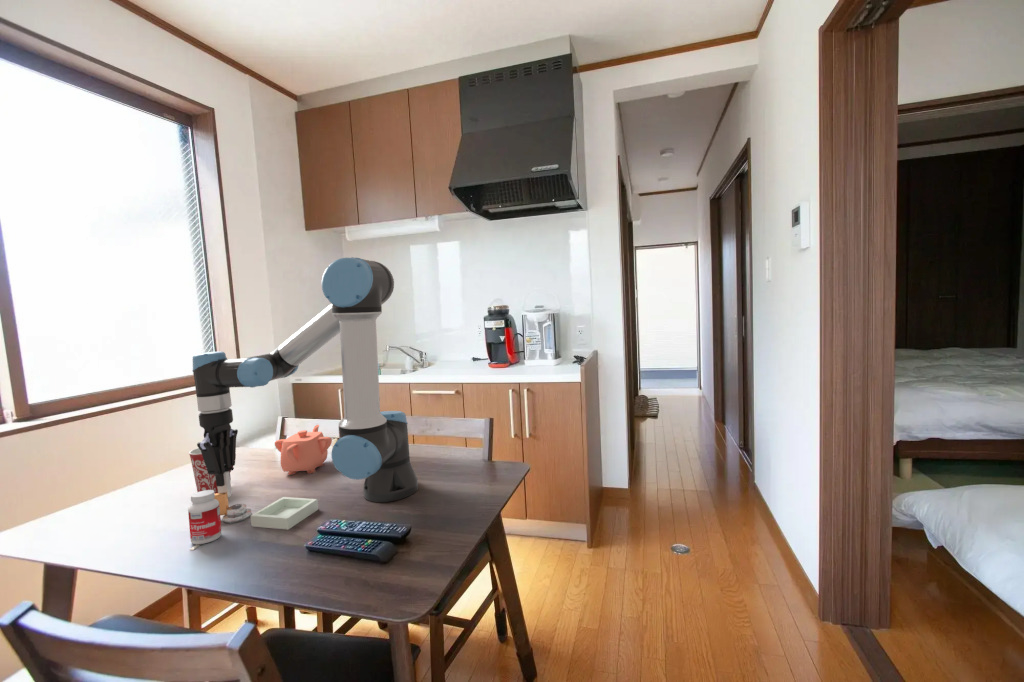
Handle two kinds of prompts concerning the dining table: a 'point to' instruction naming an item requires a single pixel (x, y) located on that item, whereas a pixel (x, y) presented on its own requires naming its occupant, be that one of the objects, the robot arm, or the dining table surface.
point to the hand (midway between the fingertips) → (225, 495)
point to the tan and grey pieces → (232, 510)
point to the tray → (284, 513)
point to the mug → (202, 472)
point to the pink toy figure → (303, 451)
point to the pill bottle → (204, 517)
